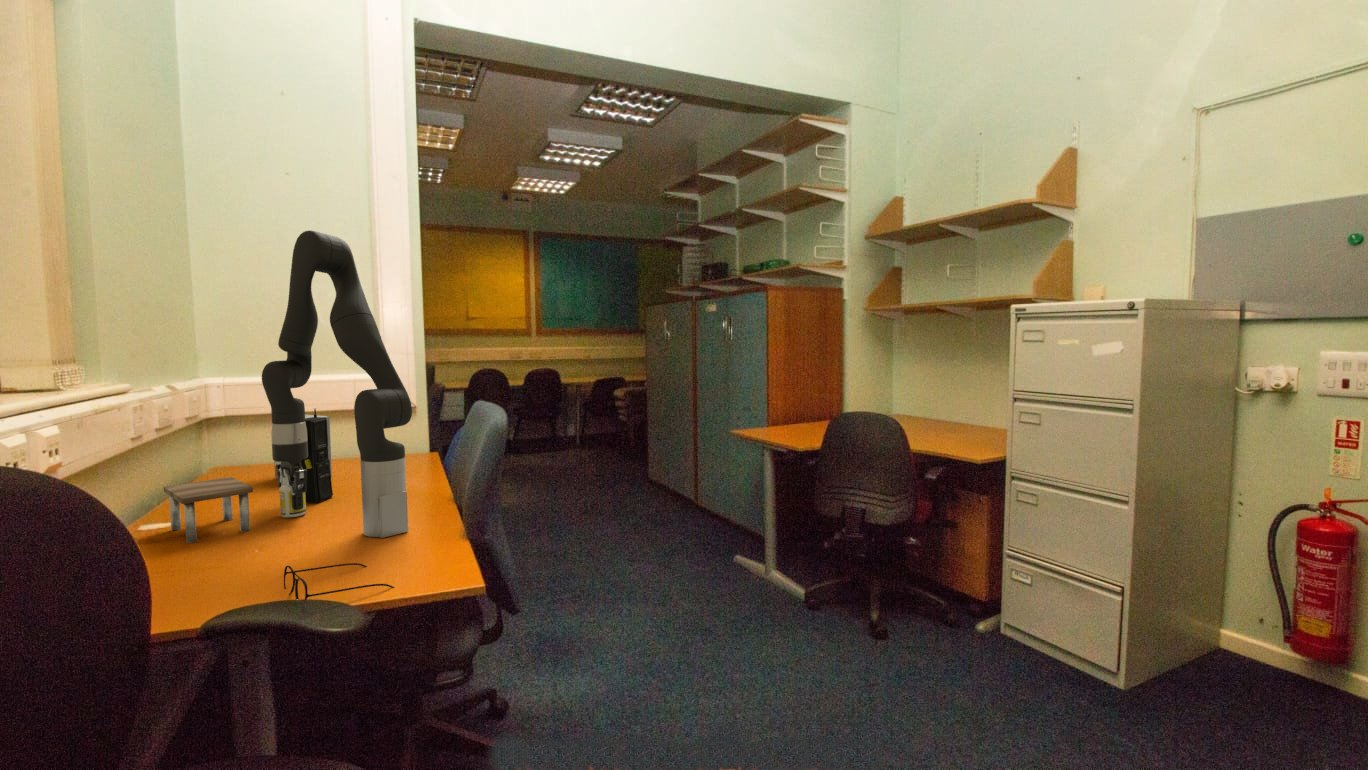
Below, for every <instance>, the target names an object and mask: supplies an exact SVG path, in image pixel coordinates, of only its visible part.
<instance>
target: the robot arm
mask: <svg viewBox="0 0 1368 770" xmlns="http://www.w3.org/2000/svg"><path fill="white" fill-rule="evenodd" d="M293 246H294V247H293V252H292V259H291V267H290V268H291V269H290V276H289V277H290V278H289V289H288V290H289V291H288V299H287V300H288V301H287V308H286V312H285V316H284V320H283V323H282V328H281V330H280V333H279V337H278V347H279V349H281V350H282V351H284V352H286V355H287V356H286V359H285V360H273V361H270V362H268V363H267V364H266V365H265V366H264V367H263V369H262V371H261V383H262V386H263V389H264V393H265V394H266V398H267V401H268V403H269V405H270V407H271V408H270V410H271V411H270V414H271V431H270V432H271V433H270V436H271V454H272V455H271V456H272V460H273V461H276V462H281V464H276V471H277V478H276V479H277V486H278V488H279V489H280V487H281V486H283V485H284V484H283V482H282V477H286V481H287V486H288V487H290V489H291V494H292V509H293V510H299V509H302V508H303V494H304V492H307V469H304V470H303V467H302V466H301V460H302V459H306V458H307V457H308V440H307V428H306V422H305V415H306V408H305V401H303V399H300V398H297V397H294V395H293V393H292V389H298V388H301V387H303V386H305V385H306V384H307V383H308V381H309V380H310V377H311V375H312V369H313V367H312V359H313V358H312V347H313V344H314V340H315V338H316V333H317V330H318V326H319V325H318V324H319V317H318V312H317V308H316V305H315V302H314V298H313V292H312V282H313V278H314V276H315V273H316V272H320V273H322V274H323V273H324V274H326V275H328V276H329V277H330V279H331V281H332V282H331V283H332V284H333V288H334V289H335V299H334V301H333V304H332V307H331V309H330V314H329V323H330V327H331V330H332V333H333V335H334V337H335V340H336V344H337V345H338V347H339V348H340V350H341V351H342V353H344V354H345V355H346V356H347V357H348V358H349V359H350V360H351V361H353V362H354V363H355V364H356V365H357V366H359V367H360V368H361V369H363V371H365V373H366V374H367V375H368V376H369V377H370V378H371V380H372V381H373V384H374V385H375V387H376V388H374V389H373V388H372V389H364V390H362V391H360V392H359V393H358V394H357V395H356V398H355V399H354V400H355V401H354V406H353V407H354V408H353V410H354V411H353V412H354V414H353V415H354V423H355V431H356V444H357V448H358V451H359V454H360V455H359V456H360V478H361V479H360V480H361V481H360V483H361V502H362V503H361V505H362V526H363V528H362V529H363V535H364V536H366V537H369V538H370V537H371V538H380V539H384V538H387V537H392V536H395V535H399V534H403V533H408V532H409V519H408V517H409V516H408V513H409V512H408V492H407V478H406V477H407V475H406V472H407V471H406V448H405V445H404V444H403V443H401V442H395V441H391V440H390V439H387V438H386V436H385V429H390V428H391V429H392V428H397V427H403V426H406V425H407V424H408V423H409V422H410V421H411V420H412V417H413V407H412V402H411V401H412V400H411V398H410V396H409V394H408V391H407V389H406V387H405V386H404V384H403V382H402V379H401V378H400V377H399V374H398V372H397V369H395V367H394V365H393V362H392V361H391V358H390V356H389V354H388V351H387V348H386V347H385V344H384V342H383V339H382V336H381V333H380V331H379V328H378V325H377V323H376V321H375V318H374V315H373V312H372V311H371V309H370V307H369V303H368V300H367V299H366V295H365V293H364V290H363V287H362V284H361V281H360V277H359V274H358V270H357V265H356V262H355V259H354V255H353V252H352V249H351V247H350V245H349V244H348V243H347V242H346V240H344V239H342V238H340V237H338V236H335V235H331V234H327V233H323V232H320V231H316V230H305V231H302V233H300V234H299V236H297V239H296V241H295V243H294V245H293ZM291 481H294V482H291ZM298 486H299V489H298Z"/></svg>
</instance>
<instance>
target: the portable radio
mask: <svg viewBox="0 0 1368 770" xmlns="http://www.w3.org/2000/svg"><path fill="white" fill-rule="evenodd" d="M313 410H314V414H313V415H314V417H311V418H305V422H306V428H307V440H308V457H307V458H306V459H302V460H301V466H302V467H303V470H304V469H307V492H305V498H306V504H319V503H321V502H324V501H326V500H328V499H331V498H332V497H333V495H334V492H333V485H332V477H331V471H330V460H329V457H328V433H327V420H326V417H317V410H316V409H313Z"/></svg>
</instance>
